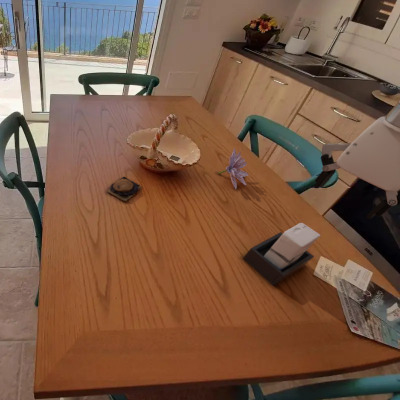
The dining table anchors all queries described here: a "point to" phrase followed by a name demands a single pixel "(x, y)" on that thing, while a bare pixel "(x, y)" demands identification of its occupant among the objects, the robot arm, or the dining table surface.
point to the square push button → (124, 189)
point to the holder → (266, 267)
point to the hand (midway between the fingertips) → (343, 200)
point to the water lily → (236, 168)
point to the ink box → (291, 246)
